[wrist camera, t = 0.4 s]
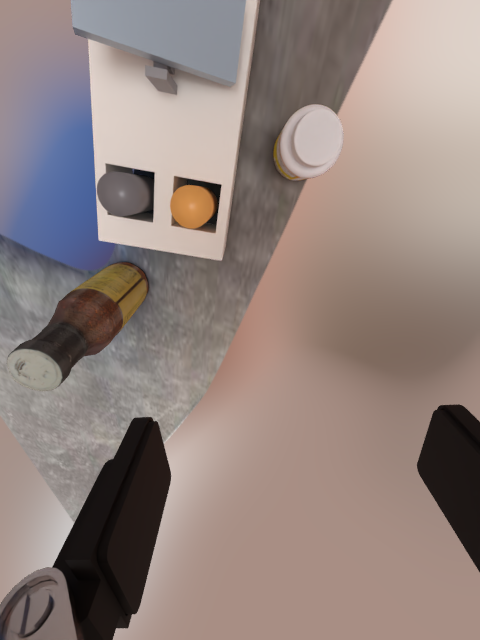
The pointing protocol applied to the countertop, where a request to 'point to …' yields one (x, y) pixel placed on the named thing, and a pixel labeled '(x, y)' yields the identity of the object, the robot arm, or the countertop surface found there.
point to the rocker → (169, 32)
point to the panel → (168, 140)
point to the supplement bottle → (308, 143)
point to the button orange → (193, 205)
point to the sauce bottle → (79, 326)
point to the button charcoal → (125, 193)
